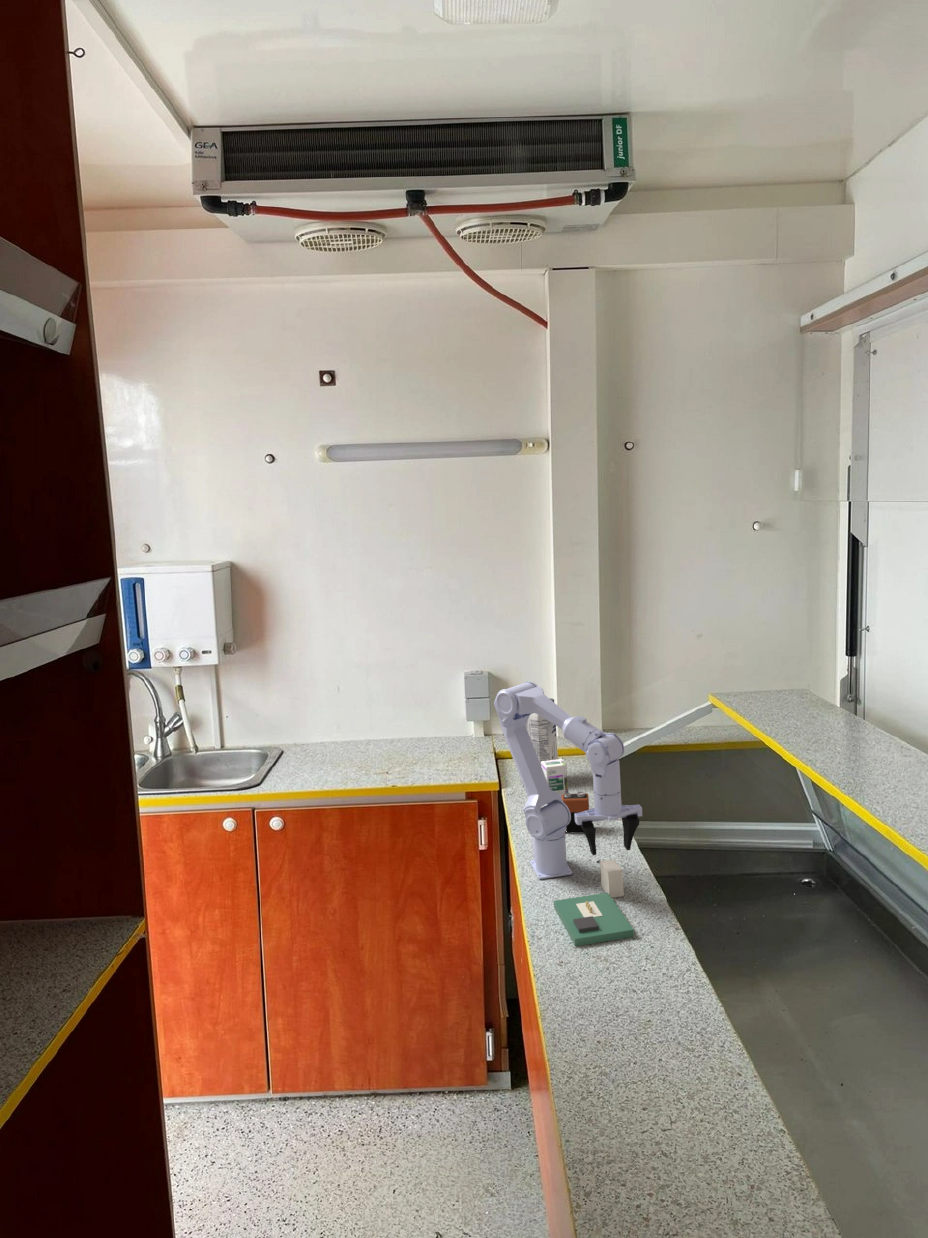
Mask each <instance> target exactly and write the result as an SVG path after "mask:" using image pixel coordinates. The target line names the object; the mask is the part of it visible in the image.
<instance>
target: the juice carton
mask: <svg viewBox="0 0 928 1238" xmlns="http://www.w3.org/2000/svg"><path fill="white" fill-rule="evenodd" d="M548 698H549V697H548ZM549 699H550V700H552V701H553V702H554V703H555V699H554V698H549ZM526 729H527V731H528V734H529V736H530V739H531V741H532V744H533V747H534V749H535V752H536V754H537V757H538V759H539V762H540V764H541V762H542V761H549V760H557V759H559V754H558V751H559V750H558V741H557V740H558V736H557V726H556V725H554V724H553V723H551V722H549V721H548V720H546V719H544V718H543V717H541V716H540V715H538V714H536V713H532V714H531V715H530V716H529V718H528V721H527V723H526ZM519 780H520V783H521V782H522V780H521V778H520V777H519Z"/></svg>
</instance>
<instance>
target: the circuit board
mask: <svg viewBox="0 0 928 1238" xmlns="http://www.w3.org/2000/svg"><path fill="white" fill-rule="evenodd" d="M553 908H554V910H555V912H556V914H557V916H558V919H560V921H561V923H562V925H563V926H564V928H565V931H566V932H567V934H568V936H569V938H570V940H571V942H572V944H573V945H574V946H575V947H578V946H584V945H591V944H598V943H605V942H609V941H615V940H621V939H627V938H628V939H629V938H634V937H635V931H634V928H633V926H632V925H631V923H629V921H628V919H627V918H626V917H625V914H623V912H622V911H621V909H620V908H619V906H618V904H616V902H615V901H614V899H613V898H611V896H610V895H609V894H608V893H606V892H602V893H595V894H589V895H583V896H576V897H570V898H563V899H556V900H553Z"/></svg>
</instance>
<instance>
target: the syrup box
mask: <svg viewBox="0 0 928 1238" xmlns="http://www.w3.org/2000/svg"><path fill="white" fill-rule="evenodd" d="M541 767H542V770H543V772H544V775H545V777H546V780H547V782H548V785H549V787H550V789H551V790H552V791H555V792H557V793H559V794H560V795H561V798H562V794H565V793H569V781H568V766H567V763H566V762H565V761H564V759H562V758H558V759H557V760H549V761H542V762H541ZM546 805H547V804H545V805H543V807H544V806H546Z"/></svg>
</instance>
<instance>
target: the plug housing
mask: <svg viewBox="0 0 928 1238" xmlns="http://www.w3.org/2000/svg"><path fill="white" fill-rule="evenodd" d="M599 863H600V881H601V882H600V883H601V884H600V885H601V888H602V889H603V891H604V893H608V894H609V895H610V896H611V898H612V899H613V898H621V897H624V895H625V891H624V875H623V874H624V872H623V869H622V868H621V866H620V865H619V863H618V862H617V861H616V859H613V858H612V859H607V860H600V861H599Z"/></svg>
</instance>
